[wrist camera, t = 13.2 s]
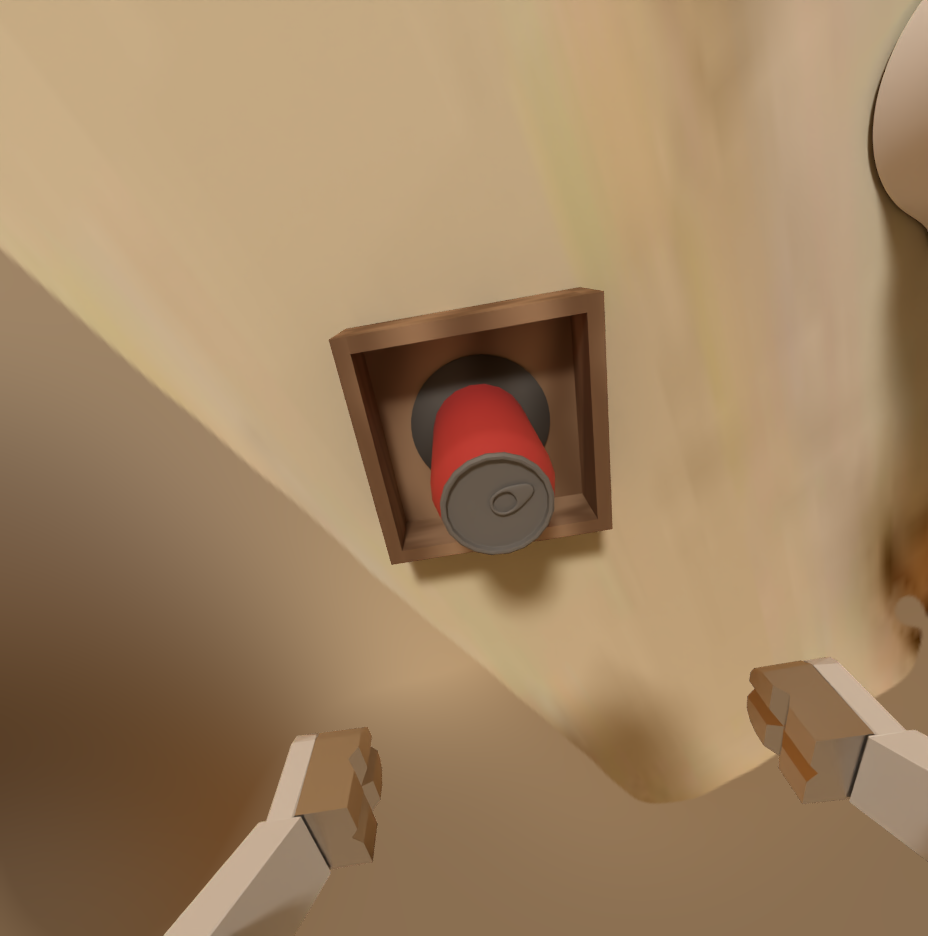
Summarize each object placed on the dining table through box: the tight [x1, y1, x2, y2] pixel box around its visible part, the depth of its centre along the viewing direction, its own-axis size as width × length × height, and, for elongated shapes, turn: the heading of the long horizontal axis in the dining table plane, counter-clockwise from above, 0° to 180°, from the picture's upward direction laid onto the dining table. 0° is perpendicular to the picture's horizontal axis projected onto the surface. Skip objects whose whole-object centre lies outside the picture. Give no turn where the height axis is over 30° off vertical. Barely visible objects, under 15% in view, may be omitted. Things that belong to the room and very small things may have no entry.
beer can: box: [430, 384, 555, 555], centre depth 27 cm, size 7×7×12 cm
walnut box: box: [329, 287, 612, 565], centre depth 32 cm, size 16×16×5 cm
